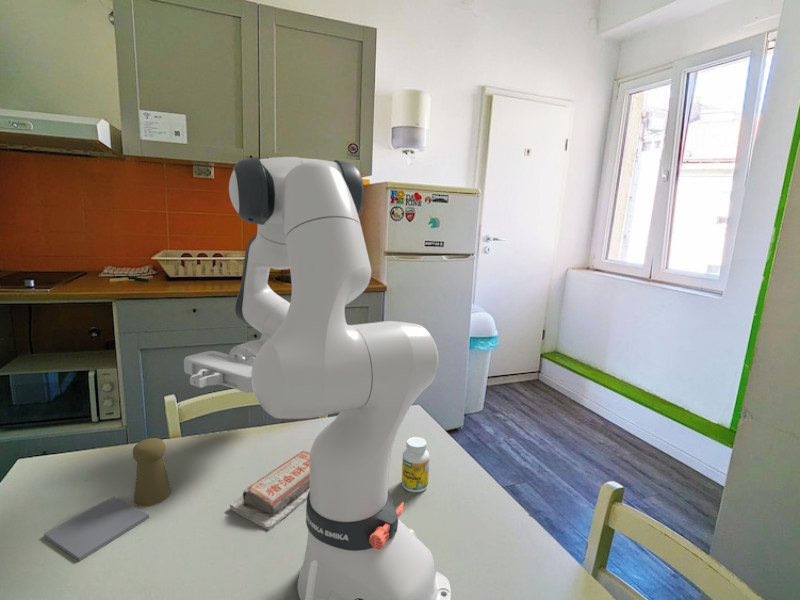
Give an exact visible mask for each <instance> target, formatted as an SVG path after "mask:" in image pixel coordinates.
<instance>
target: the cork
mask: <svg viewBox="0 0 800 600" xmlns="http://www.w3.org/2000/svg"><path fill="white" fill-rule="evenodd" d="M165 453H166V444H165V442H164V441H163V440H162V439H161V438H157V437H151V438H146V439H143V440H140V441H139V442H137V443H136V444H135V446H134V447H133V449H132V458H133V460H134V461H135V462H136V469H135V470H136V473H135V482H134V483H135V485H134V498H133V502H134V504H135V505H136V506H138V507H145V508H146V507H151V506H156V505H158V504H160V503H162V502H164V501H165V500H167V499H168V498H169V497H170V495H171V493H172V489H171V486H170V482H169V477H168V473H167V469H166V465H165V460H164V455H166V454H165Z"/></svg>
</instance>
